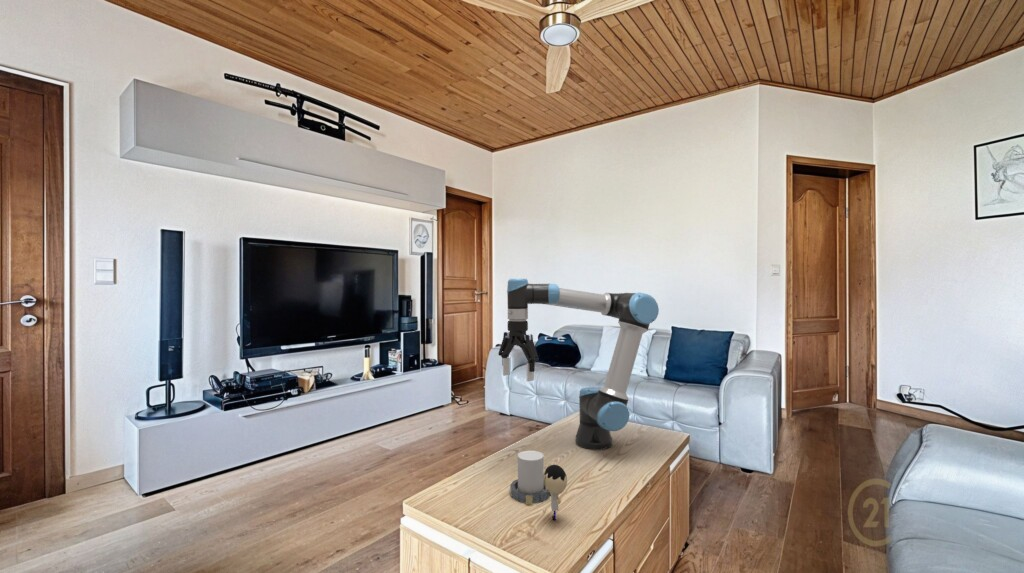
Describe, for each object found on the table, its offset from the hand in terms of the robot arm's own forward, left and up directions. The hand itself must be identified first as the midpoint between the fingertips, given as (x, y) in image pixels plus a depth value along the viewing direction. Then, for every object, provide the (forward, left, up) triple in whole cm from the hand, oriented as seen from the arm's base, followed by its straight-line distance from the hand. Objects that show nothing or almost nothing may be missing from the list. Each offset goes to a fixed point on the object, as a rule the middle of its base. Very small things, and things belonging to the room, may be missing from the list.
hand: (517, 377), depth 160 cm
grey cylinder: (+12, +20, -32) cm, 39 cm away
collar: (+12, +20, -32) cm, 39 cm away
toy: (+17, +36, -32) cm, 51 cm away
